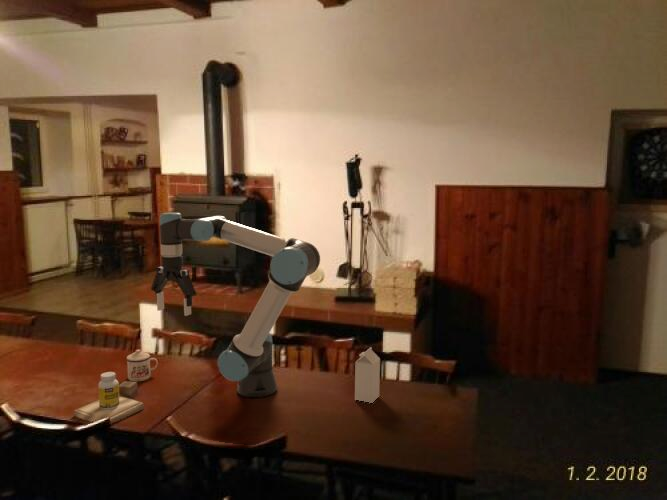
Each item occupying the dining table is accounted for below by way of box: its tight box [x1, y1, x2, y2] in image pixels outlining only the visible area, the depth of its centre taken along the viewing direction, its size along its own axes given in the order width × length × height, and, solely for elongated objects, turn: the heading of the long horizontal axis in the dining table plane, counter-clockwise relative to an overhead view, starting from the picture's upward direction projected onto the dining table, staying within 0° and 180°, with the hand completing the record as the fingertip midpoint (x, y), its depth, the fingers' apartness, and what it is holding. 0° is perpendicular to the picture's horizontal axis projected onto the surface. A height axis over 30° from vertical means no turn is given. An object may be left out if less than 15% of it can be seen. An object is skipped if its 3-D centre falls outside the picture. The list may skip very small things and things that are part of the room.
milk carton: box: [354, 347, 381, 404], centre depth 199 cm, size 7×7×19 cm
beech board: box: [73, 396, 145, 424], centre depth 188 cm, size 16×16×2 cm
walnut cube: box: [119, 380, 139, 400], centre depth 200 cm, size 5×5×5 cm
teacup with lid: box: [125, 349, 159, 383], centre depth 218 cm, size 12×9×12 cm
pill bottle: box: [97, 371, 120, 409], centre depth 187 cm, size 6×6×12 cm
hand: (174, 312), depth 198 cm, fingers open, 13 cm apart
